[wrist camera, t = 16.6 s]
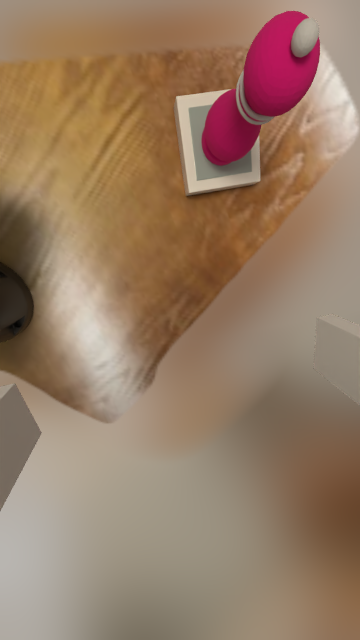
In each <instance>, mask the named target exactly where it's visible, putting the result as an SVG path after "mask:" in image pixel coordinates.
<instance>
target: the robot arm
mask: <svg viewBox="0 0 360 640" xmlns="http://www.w3.org/2000/svg"><path fill="white" fill-rule="evenodd" d="M32 314H33V300H32V297H31V294H30V291H29V289H28V287H27V286H26V284H25V283H24V281H23V280H22V279H21V278H20V277H19V276H18V275H17V274H16V273H15V272H14V271H13V270H11V269H10V268H9V267H7V266H5V265H4V264H2V263H0V343H1V342H4V341H7V340H9V339H11V338H13V337H15V336H16V335H17V334H19V333H20V332H21V331H22V330H24V329H25V328H26V326H27V325H28V324H29V322H30V320H31V317H32ZM313 369H314V370H316V371H317V372H318V373H319V374H321V375H322V376H323V377H325V378H326V379H327V380H328V381H330V382H331V383H332V384H333V385H335V386H336V387H337V388H338V389H340V390H341V391H342V392H343V393H345V394H346V395H347V396H349V397H350V398H351V399H352V400H354V401H355V402H356V403H357V404H359V405H360V325H358V324H356V323H353V322H351V321H348V320H346V319H344V318H341V317H339V316H336V315H334V314H330V315H325V316H321V317H317V321H316V336H315V352H314V367H313ZM40 435H41V431H40V429H39V427H38V426H37V423H36V422H35V420H34V418H33V416H32V414H31V413H30V410H29V409H28V407H27V405H26V403H25V401H24V399H23V397H22V395H21V393H20V392H19V390H18V388H17V386H16V384H15V383H14V384H9V385H4V386H0V511H1V508H2V507H3V505H4V503H5V501H6V499H7V497H8V496H9V494H10V492H11V490H12V488H13V486H14V484H15V482H16V480H17V478H18V476H19V474H20V473H21V471H22V469H23V467H24V465H25V463H26V461H27V460H28V458H29V455H30V454H31V452H32V450H33V448H34V446H35V444H36V442H37V440H38V439H39V437H40Z"/></svg>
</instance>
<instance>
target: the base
mask: <svg viewBox="0 0 360 640" xmlns="http://www.w3.org/2000/svg"><path fill="white" fill-rule="evenodd" d="M229 90H231V89H229ZM229 90H222V91H214V92H207V93H200V94H192V95H185V96H177V97H176V100H175V104H174V114H175V121H176V128H177V135H178V143H179V150H180V157H181V164H182V172H183V179H184V186H185V193H186V196H189V195H195V194H201V193H207V192H213V191H219V190H225V189H231V188H237V187H243V186H249V185H253V184H255V183H257V182H259V181H260V149H259V136H258V138H257V140H256V142H255V144H254V146H253V147H252V149H251V150H250V151H249V152H248V153H247V154H246V155H245V156H244V157H242V158H241V159H239V160H237V161H233V162H231V163H229V164H227V165H223V166H219V165H215V164H213V163H211V162H210V161H209V160H208V159H207V158H206V156H205V154H204V152H203V149H202V143H201V139H202V133H203V130H204V127H205V121H206V117H207V114H208V112H209V110H210V108H211V106H212V105H213V103H214V102H215V101H216V100H217V99H218V98H219V97H220V96H221V95H222V94H224V93H225V92H227V91H229Z"/></svg>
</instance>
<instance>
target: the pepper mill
mask: <svg viewBox="0 0 360 640" xmlns="http://www.w3.org/2000/svg"><path fill="white" fill-rule="evenodd" d="M319 56H320V41H319V25H318V22H317V21H316V20H315V19H314V18H309V17H308V16H307V15H305V14H303V13H301V12H297V11H287V12H284V13H281V14H279V15H276V16H275V17H274V18H272V19H271V20H270V21H269V22H268V23H266V24H265V25H264V27H263V28H262V29H261V30H260V32H259V33H258V35H257V36H256V37H255V39H254V41H253V42H252V44H251V47H250V49H249V51H248V54H247V57H246V61H245V66H244V70H243V72H242V73H241V75H240V77H239V80H238V83H237V88H236V89H231V90H229V91H227V92H225V93H224V94H222V95H221V96H220V97H219V98H218V99H217V100H216V101H215V102H214V103H213V105H212V106H211V108H210V110H209V112H208V114H207V117H206V121H205V127H204V130H203V133H202V139H201V143H202V149H203V152H204V154H205V156H206V158H207V159H208V160H209V161H210V162H211V163H213V164H215V165H219V166H223V165H227V164H229V163H231V162H233V161H237V160H239V159H241V158H242V157H244V156H245V155H246V154H247V153H248V152H249V151H250V150H251V149H252V147H253V146H254V144H255V142H256V140H257V138H258V136H259V133H260V129H261V125H262V124H265V123H267V122H269V121H270V120H272V119H273V118H274V117H275V116H279V115H282V114H284V113H286V112H288V111H289V110H291V109H292V108H293V107H294V106H296V104H297V103H298V102H299V101H300V100H301V99H302V98H303V96H304V95H305V94H306V92H307V91H308V89H309V88H310V86H311V84H312V82H313V79H314V77H315V74H316V71H317V67H318V63H319Z"/></svg>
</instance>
